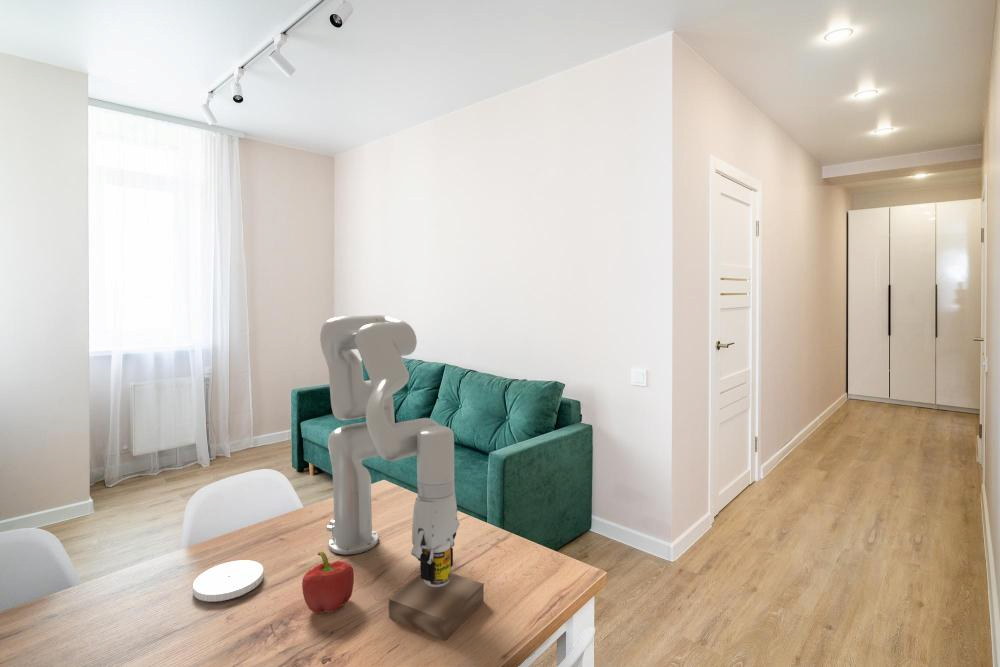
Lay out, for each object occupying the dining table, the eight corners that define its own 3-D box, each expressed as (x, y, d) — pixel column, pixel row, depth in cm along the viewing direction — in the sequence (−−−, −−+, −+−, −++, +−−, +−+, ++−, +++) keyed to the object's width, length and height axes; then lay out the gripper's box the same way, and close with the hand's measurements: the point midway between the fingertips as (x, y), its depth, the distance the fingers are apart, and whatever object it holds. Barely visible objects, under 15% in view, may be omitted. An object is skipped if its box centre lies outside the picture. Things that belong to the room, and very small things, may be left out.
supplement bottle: (431, 591, 101) (430, 542, 101) (419, 578, 106) (418, 531, 105) (455, 582, 104) (455, 534, 104) (443, 570, 109) (442, 524, 108)
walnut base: (389, 617, 103) (388, 598, 103) (430, 583, 115) (430, 566, 115) (445, 640, 96) (445, 620, 96) (483, 601, 108) (483, 583, 108)
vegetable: (295, 601, 108) (294, 556, 108) (343, 584, 115) (342, 542, 114) (311, 628, 100) (310, 579, 99) (362, 608, 106) (361, 562, 105)
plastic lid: (231, 565, 123) (231, 555, 123) (277, 576, 119) (277, 566, 118) (178, 598, 110) (177, 587, 110) (226, 612, 105) (226, 600, 105)
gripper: (445, 471, 113) (446, 549, 114) (393, 498, 98) (395, 588, 99) (474, 477, 109) (474, 558, 111) (424, 506, 94) (426, 599, 96)
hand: (437, 571), depth 105 cm, fingers closed on supplement bottle, 5 cm apart
